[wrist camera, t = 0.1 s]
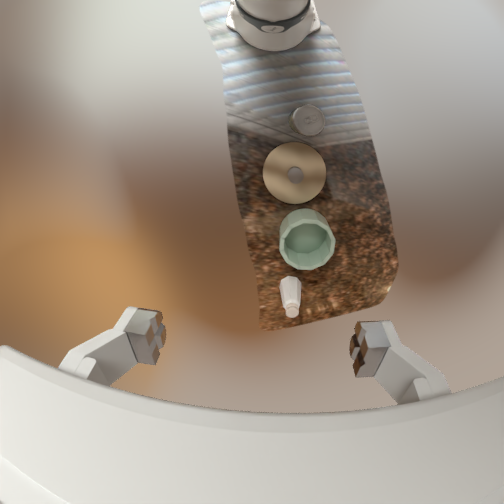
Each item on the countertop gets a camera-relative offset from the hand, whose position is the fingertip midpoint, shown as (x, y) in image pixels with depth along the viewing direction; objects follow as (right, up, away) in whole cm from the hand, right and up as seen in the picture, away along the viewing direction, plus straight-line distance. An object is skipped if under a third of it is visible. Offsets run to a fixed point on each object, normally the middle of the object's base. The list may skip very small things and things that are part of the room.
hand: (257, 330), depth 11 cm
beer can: (+10, +29, +38) cm, 49 cm away
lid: (+9, +19, +44) cm, 49 cm away
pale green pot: (+11, +8, +49) cm, 51 cm away
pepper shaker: (+9, -5, +56) cm, 57 cm away
